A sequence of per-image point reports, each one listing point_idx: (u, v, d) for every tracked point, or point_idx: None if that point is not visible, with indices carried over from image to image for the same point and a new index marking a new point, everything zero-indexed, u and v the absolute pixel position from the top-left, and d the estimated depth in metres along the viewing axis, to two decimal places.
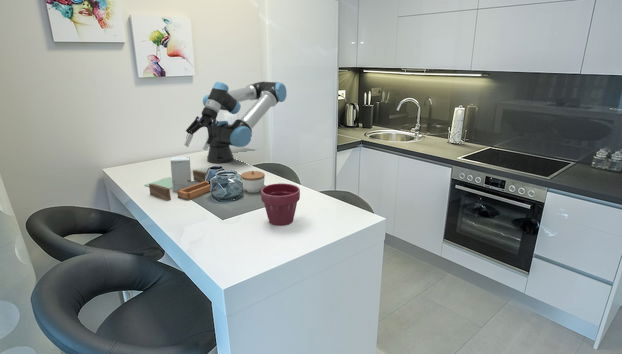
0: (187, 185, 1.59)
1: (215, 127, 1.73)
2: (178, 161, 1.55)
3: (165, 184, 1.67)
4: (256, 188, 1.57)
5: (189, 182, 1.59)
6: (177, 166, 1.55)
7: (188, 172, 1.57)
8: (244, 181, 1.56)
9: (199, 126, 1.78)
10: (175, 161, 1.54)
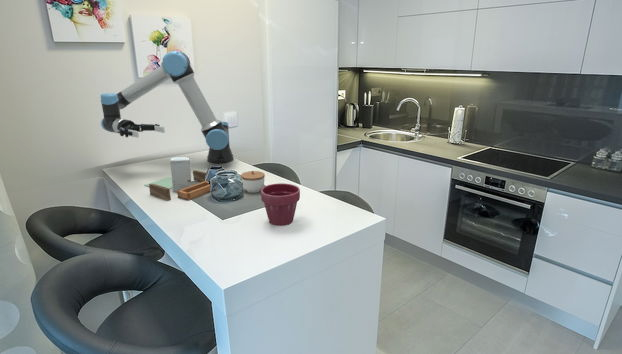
0: (187, 185, 1.59)
1: (119, 131, 1.63)
2: (178, 161, 1.55)
3: (165, 184, 1.67)
4: (256, 188, 1.57)
5: (189, 182, 1.59)
6: (177, 166, 1.55)
7: (188, 172, 1.57)
8: (244, 181, 1.56)
9: (142, 128, 1.71)
10: (175, 161, 1.54)
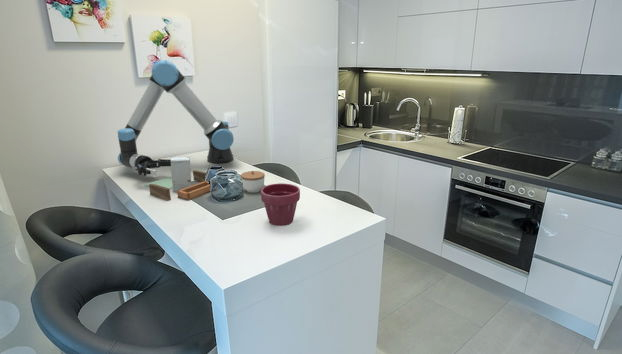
0: (187, 185, 1.59)
1: (137, 169, 1.63)
2: (178, 161, 1.55)
3: (165, 184, 1.67)
4: (256, 188, 1.57)
5: (189, 182, 1.59)
6: (177, 166, 1.55)
7: (188, 172, 1.57)
8: (244, 181, 1.56)
9: (159, 164, 1.72)
10: (175, 161, 1.54)
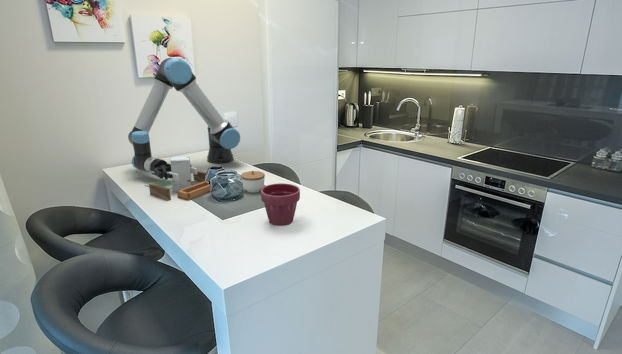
0: (187, 185, 1.59)
1: (156, 173, 1.57)
2: (178, 161, 1.55)
3: (165, 184, 1.67)
4: (256, 188, 1.57)
5: (189, 182, 1.59)
6: (177, 166, 1.55)
7: (188, 172, 1.57)
8: (244, 181, 1.56)
9: None
10: (175, 161, 1.54)
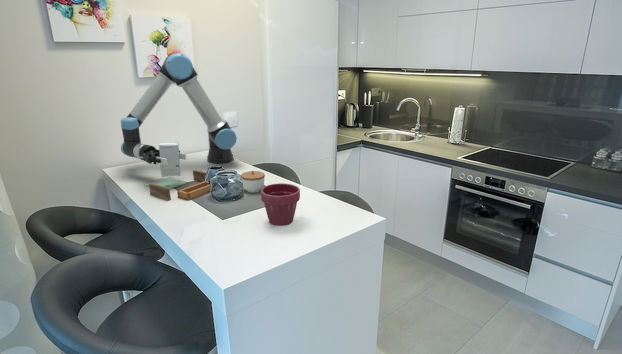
0: (176, 170, 1.60)
1: (144, 158, 1.59)
2: (166, 146, 1.56)
3: (165, 184, 1.67)
4: (256, 188, 1.57)
5: (178, 167, 1.60)
6: (166, 151, 1.57)
7: (176, 157, 1.59)
8: (244, 181, 1.56)
9: None
10: (163, 146, 1.56)
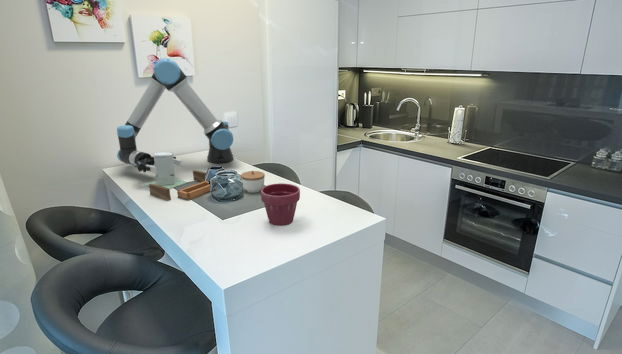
0: (170, 179, 1.65)
1: (137, 166, 1.63)
2: (161, 156, 1.61)
3: None
4: (256, 188, 1.57)
5: (172, 176, 1.65)
6: (160, 161, 1.61)
7: (171, 167, 1.63)
8: (244, 181, 1.56)
9: None
10: (158, 156, 1.60)
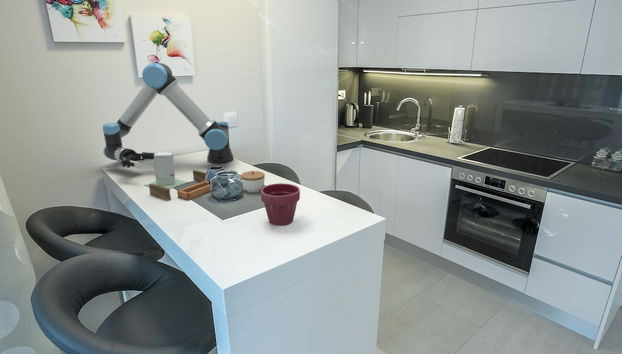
0: (170, 179, 1.65)
1: (121, 161, 1.69)
2: (161, 156, 1.61)
3: None
4: (256, 188, 1.57)
5: (172, 176, 1.65)
6: (160, 161, 1.61)
7: (171, 167, 1.63)
8: (244, 181, 1.56)
9: (143, 157, 1.78)
10: (158, 156, 1.60)
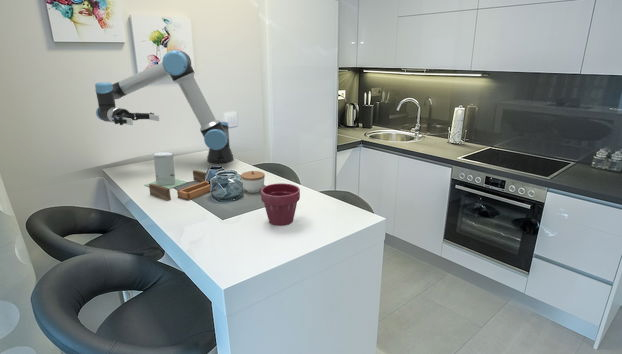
0: (170, 179, 1.65)
1: (113, 119, 1.63)
2: (161, 156, 1.61)
3: None
4: (256, 188, 1.57)
5: (172, 176, 1.65)
6: (160, 161, 1.61)
7: (171, 167, 1.63)
8: (244, 181, 1.56)
9: (137, 116, 1.71)
10: (158, 156, 1.60)
